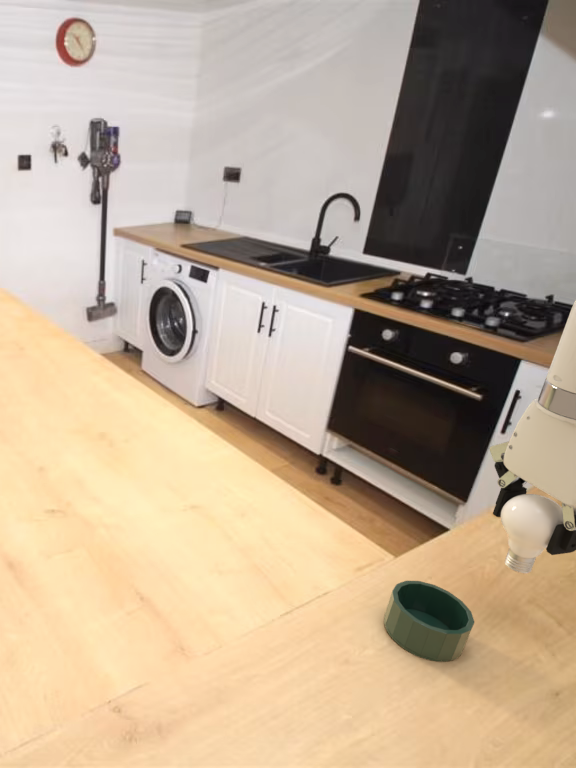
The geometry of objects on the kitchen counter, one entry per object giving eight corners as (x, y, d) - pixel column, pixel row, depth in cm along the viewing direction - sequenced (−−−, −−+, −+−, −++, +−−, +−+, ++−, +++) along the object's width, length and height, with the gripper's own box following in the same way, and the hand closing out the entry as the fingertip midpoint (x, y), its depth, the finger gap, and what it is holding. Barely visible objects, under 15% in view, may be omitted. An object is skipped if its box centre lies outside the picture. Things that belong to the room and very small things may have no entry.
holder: (434, 608, 75) (445, 581, 73) (478, 663, 67) (491, 634, 65) (371, 607, 75) (379, 579, 73) (406, 662, 67) (417, 633, 65)
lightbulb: (480, 571, 69) (503, 500, 65) (491, 545, 73) (513, 477, 69) (544, 596, 65) (573, 522, 61) (552, 568, 69) (580, 497, 65)
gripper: (708, 436, 52) (634, 579, 60) (538, 370, 68) (495, 489, 75) (643, 443, 51) (575, 587, 58) (486, 375, 67) (447, 495, 74)
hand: (531, 531), depth 67 cm, fingers closed on lightbulb, 6 cm apart
